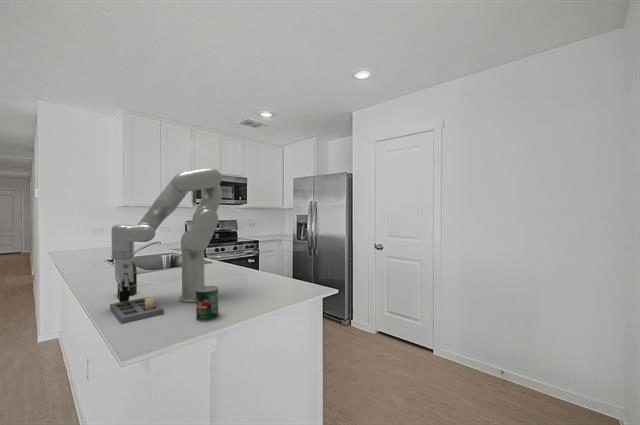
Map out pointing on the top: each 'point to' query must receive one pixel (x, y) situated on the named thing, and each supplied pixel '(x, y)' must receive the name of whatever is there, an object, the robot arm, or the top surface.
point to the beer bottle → (133, 285)
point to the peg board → (136, 310)
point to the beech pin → (124, 303)
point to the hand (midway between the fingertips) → (123, 299)
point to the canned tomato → (207, 303)
